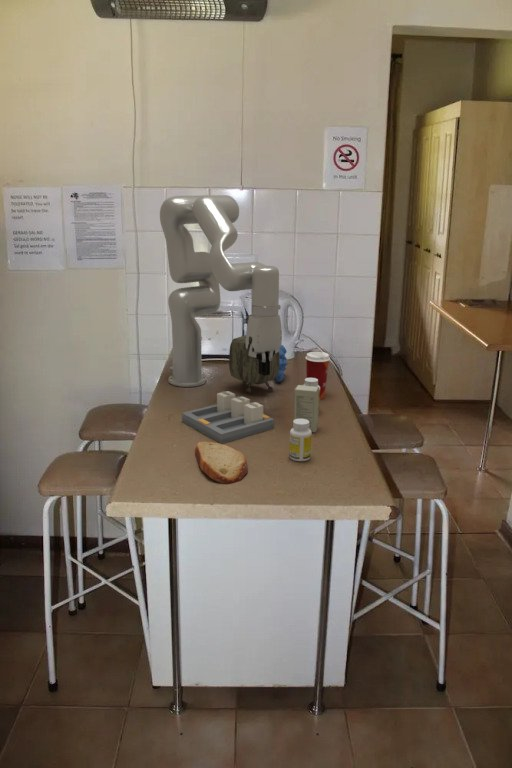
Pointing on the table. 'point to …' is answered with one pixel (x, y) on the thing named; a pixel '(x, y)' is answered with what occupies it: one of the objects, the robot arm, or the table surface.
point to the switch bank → (224, 424)
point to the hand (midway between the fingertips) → (264, 374)
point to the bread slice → (221, 462)
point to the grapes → (282, 364)
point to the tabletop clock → (249, 364)
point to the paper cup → (318, 369)
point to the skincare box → (307, 405)
